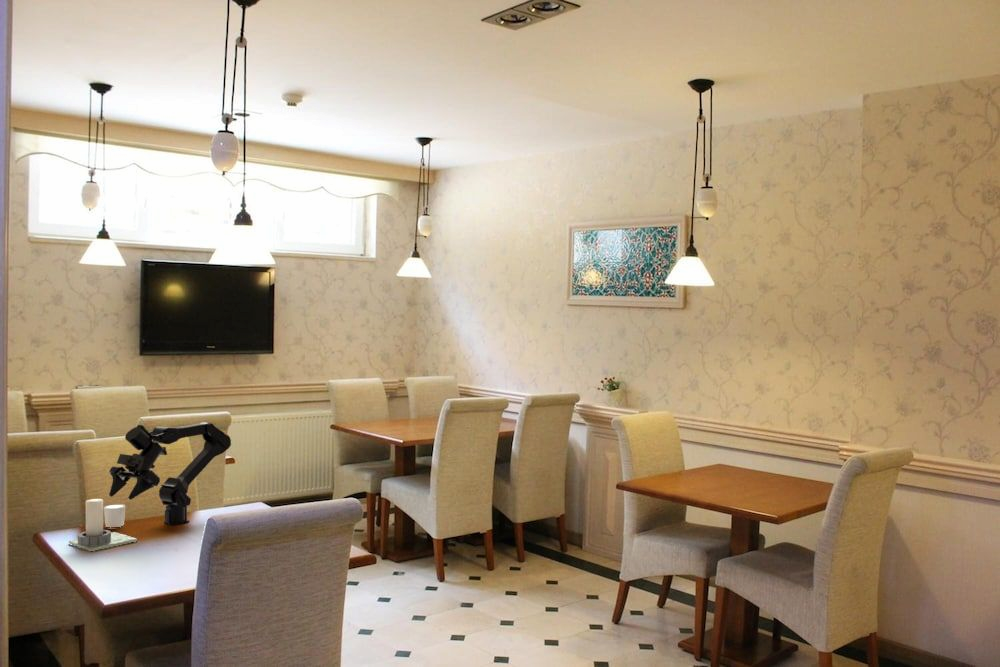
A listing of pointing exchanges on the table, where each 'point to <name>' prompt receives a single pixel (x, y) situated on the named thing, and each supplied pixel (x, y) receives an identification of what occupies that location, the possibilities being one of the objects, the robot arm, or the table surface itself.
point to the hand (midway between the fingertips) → (119, 497)
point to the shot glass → (114, 515)
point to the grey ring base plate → (101, 540)
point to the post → (94, 517)
